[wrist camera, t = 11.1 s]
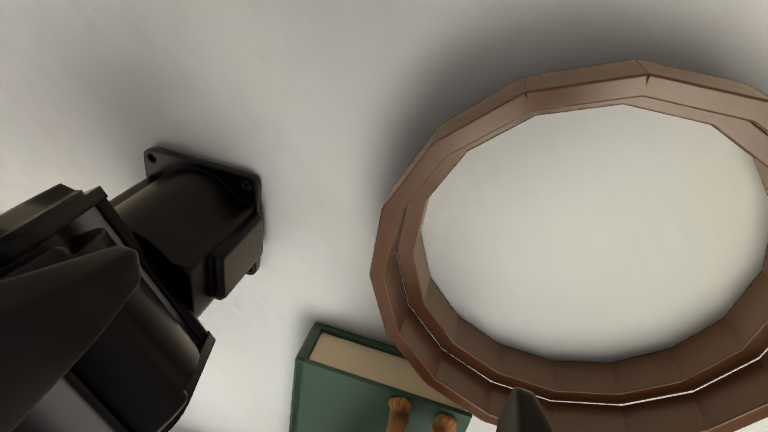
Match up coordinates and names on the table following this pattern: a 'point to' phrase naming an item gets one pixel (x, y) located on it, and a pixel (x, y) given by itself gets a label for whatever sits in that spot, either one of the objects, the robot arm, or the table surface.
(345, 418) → the book
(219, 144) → the table surface
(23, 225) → the robot arm
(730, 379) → the ring
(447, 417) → the lion figurine
